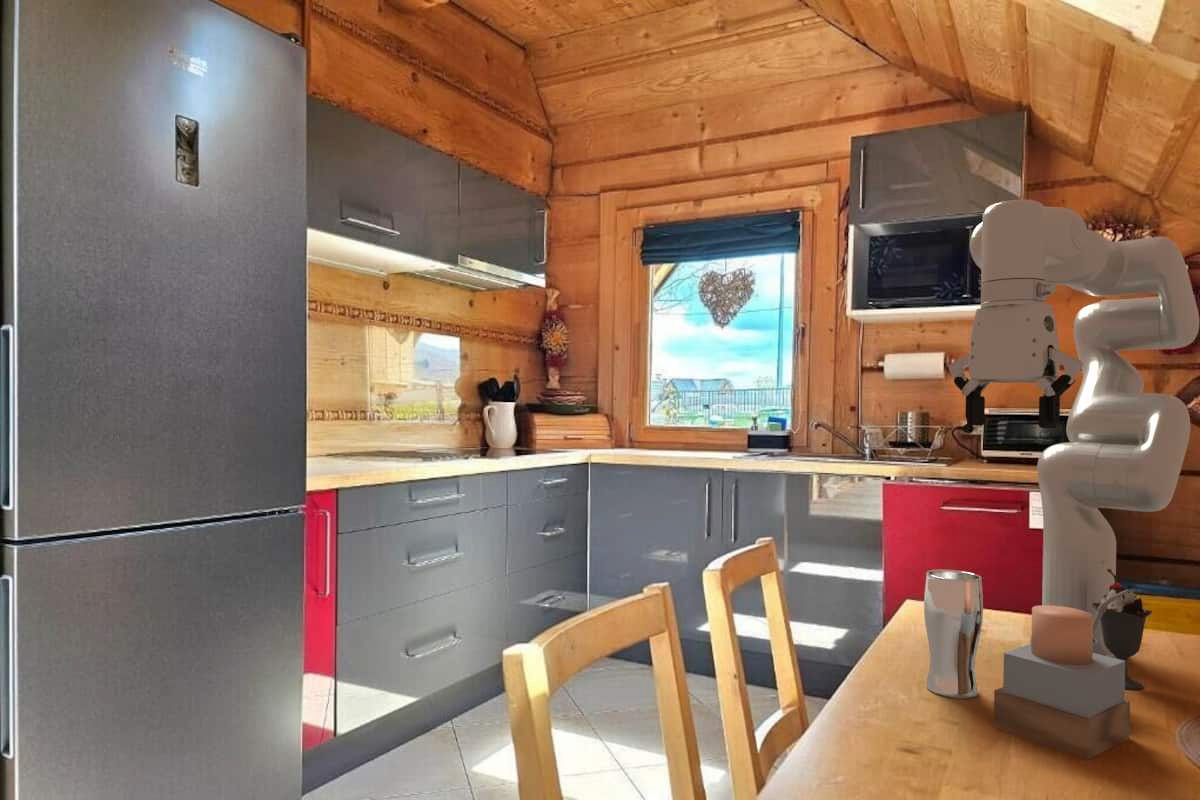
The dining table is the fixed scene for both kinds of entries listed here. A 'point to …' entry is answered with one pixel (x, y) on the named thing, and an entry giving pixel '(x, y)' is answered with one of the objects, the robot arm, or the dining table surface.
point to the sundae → (1123, 626)
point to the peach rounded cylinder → (1062, 634)
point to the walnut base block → (1062, 725)
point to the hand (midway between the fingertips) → (1010, 426)
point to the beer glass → (953, 631)
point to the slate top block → (1065, 682)
